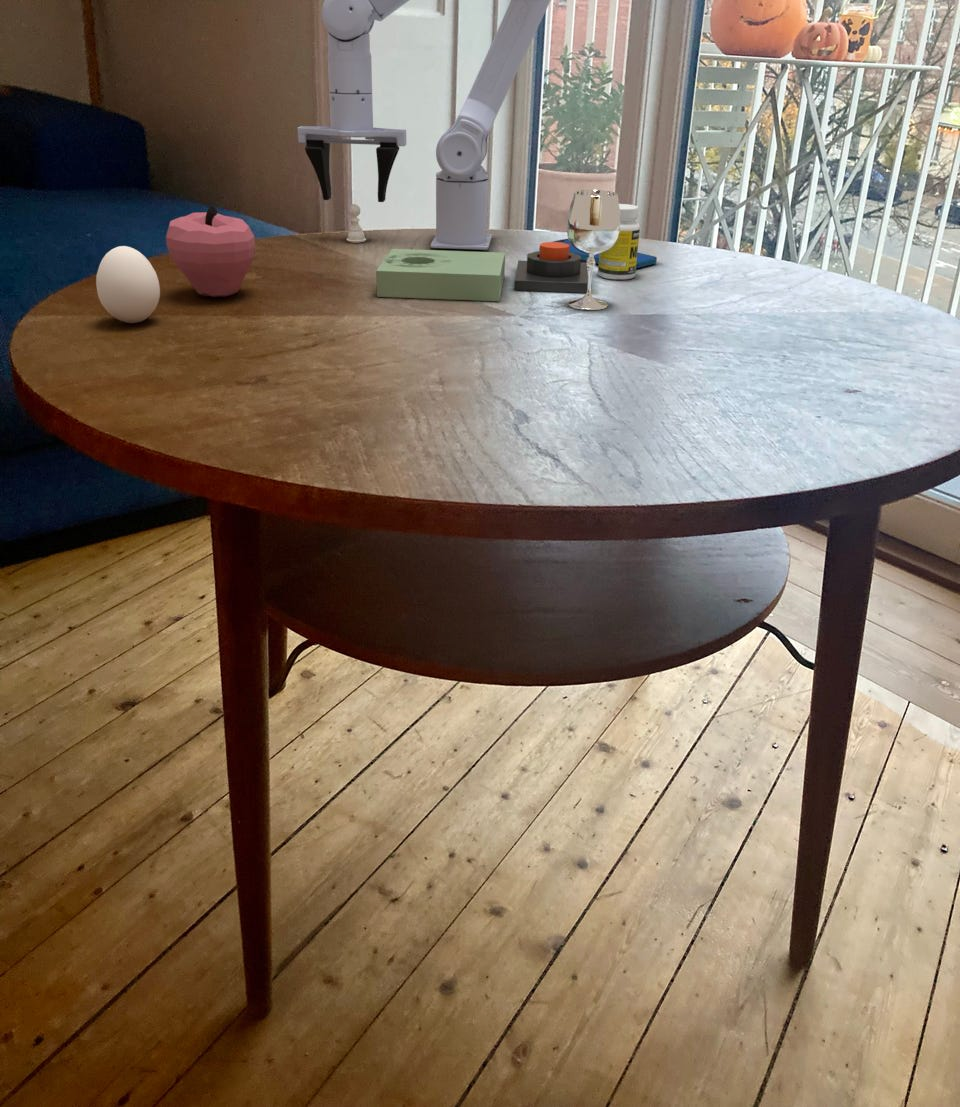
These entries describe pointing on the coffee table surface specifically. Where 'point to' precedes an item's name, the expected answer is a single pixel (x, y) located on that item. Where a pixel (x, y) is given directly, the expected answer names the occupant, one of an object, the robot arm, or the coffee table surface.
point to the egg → (127, 285)
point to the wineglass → (592, 233)
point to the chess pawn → (355, 226)
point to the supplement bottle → (622, 247)
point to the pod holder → (441, 275)
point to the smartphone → (641, 258)
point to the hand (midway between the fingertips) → (354, 200)
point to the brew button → (554, 251)
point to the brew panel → (551, 274)
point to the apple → (211, 251)
